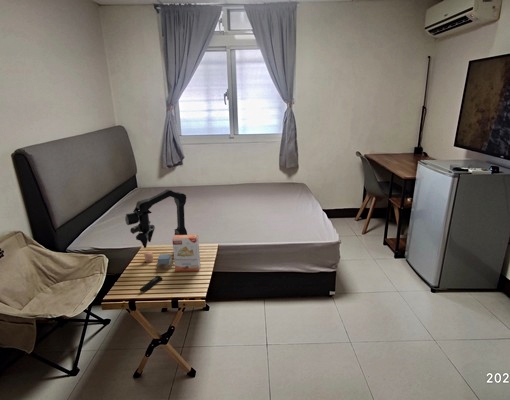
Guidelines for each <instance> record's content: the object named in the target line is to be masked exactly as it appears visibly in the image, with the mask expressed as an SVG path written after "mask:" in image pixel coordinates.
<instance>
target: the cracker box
mask: <svg viewBox="0 0 510 400" xmlns="http://www.w3.org/2000/svg"><path fill="white" fill-rule="evenodd" d="M171 241H172V249H173V251H172V252H173V262H174V267H175V272H199V271H200V268H201V256H200V255H201V254H200V253H201V252H200V244H199V243H200V241H199V234H187V235H174V236H173V237H172V239H171Z"/></svg>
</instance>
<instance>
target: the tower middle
mask: <svg viewBox="0 0 510 400" xmlns="http://www.w3.org/2000/svg"><path fill="white" fill-rule="evenodd" d="M171 259H172V255H171V253H163V254H162V253H161V254H159V256H158V257H157V263H158V265H159V264H169V263H170V261H171Z"/></svg>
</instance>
